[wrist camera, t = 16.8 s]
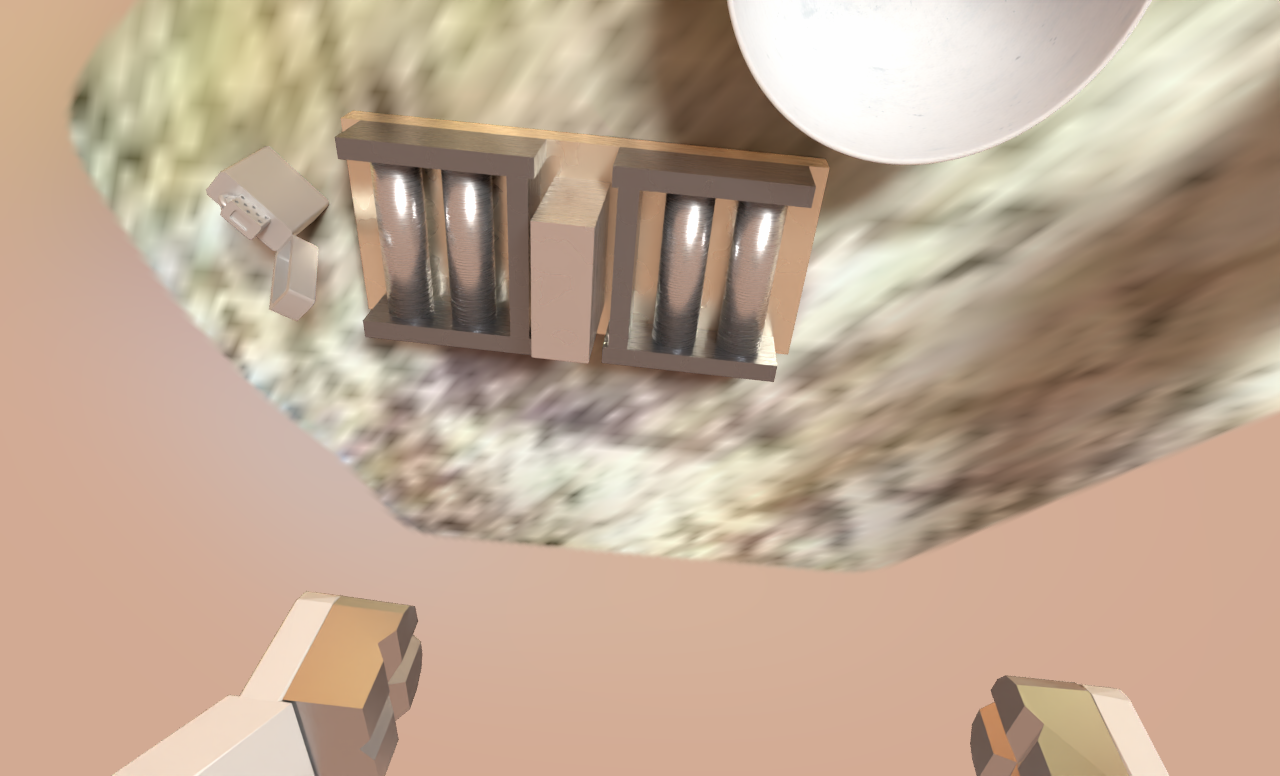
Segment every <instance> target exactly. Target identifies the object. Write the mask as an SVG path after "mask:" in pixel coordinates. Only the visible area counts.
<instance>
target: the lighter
mask: <svg viewBox="0 0 1280 776" xmlns="http://www.w3.org/2000/svg"><path fill="white" fill-rule="evenodd" d="M206 192H207V195H208V196H209V197H211V198H212V199H213V200H214V201H215V202H216V203H218V204H219V205H220V207H221V213H220V215H221V216H222V217H223V218H224V219H225V220H227V221H228V222H229V223H230V224H231V225H233V226H234V227H235V228H236V229H237V230H238V231H240V232H241V233H242V234H243V235H244V236H245V237H247V238H248V239H249V240H252V239H253V238H254V237H257V238H258V239H260V240H261V241H262V242H263V243H264V244H265V245H267V246H268V247H269V248H270V249H271V250H272V251H277V252H276V254H275V260H274V269H273V278H272V287H271V297H270V306H269V309H270V310H272V311H274V312H277V313H279V314H281V315H284V316H286V317H288V318H291V319H293V320H295V321H298V320H299V319H300V318H301V317H302V316H303V315H304V314H305V313H306V312H307V311H308V310H309V309H310V308H311V307H312V306H313V305H314V302H315V298H316V280H317V263H318V247H317V246H315V245H313V244H311V243H309V242H307V241H305V240H303V239H301V238H299V237H297V236H296V235H297V234H299V233H300V232H301V231H302V230H304V229H305V228H306V227H307V226H308V225H310V224H311V223H312V222H313V221H314V220H315V219H316V218H317V217H318V216H319V215H320V214H321V213H322V212H323V211H324V210H325V209H326V208H327V206H328V205H329V201H328V199H326V198H325V197H324V196H323V195H322V194H321V193H320V192H319V191H318V190H317V189H316V188H314V187H313V186H312V185H311V184H310V183H309V182H308V181H307V180H306V179H305V178H304V177H302V176H301V175H300V174H299V173H298V172H297V171H296V170H295V169H294V168H293V167H292V166H290V165H289V164H288V163H287V162H286V161H285V160H284V159H283V158H282V157H281V156H280V155H278V154H277V153H276V152H275V151H274V150H273V149H272V148H271V147H269V146H265V147H263V148H261V149H259V150H258V151H256V152H254V153H253V154H251V155H249V156H247V157H246V158H244V159H242V160H240V161H239V162H237V163H235V164H233V165H232V166H230V167H228V168H226V169H225V170H223V171H221V172H220V173H219V174H218V176H217V177H216V178H215V179H214V181H213V182H212V183H211V184H210V186H209V187H208V188H207V189H206Z"/></svg>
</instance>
